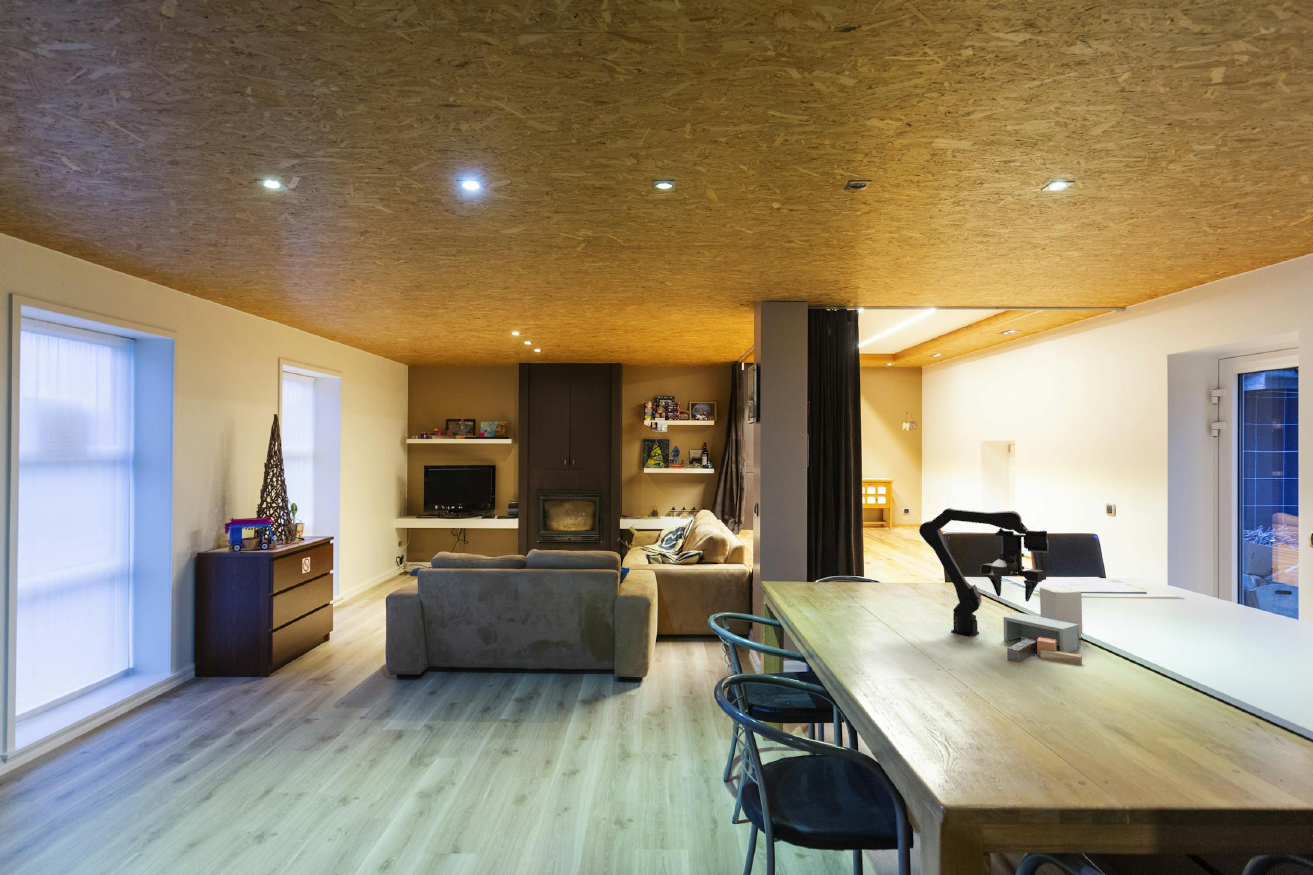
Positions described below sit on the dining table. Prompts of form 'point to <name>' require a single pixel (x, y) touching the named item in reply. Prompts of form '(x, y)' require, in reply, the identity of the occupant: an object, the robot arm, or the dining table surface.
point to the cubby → (1042, 630)
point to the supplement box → (1061, 605)
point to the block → (1045, 644)
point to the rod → (1061, 656)
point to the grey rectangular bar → (1022, 649)
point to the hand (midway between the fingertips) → (1012, 598)
